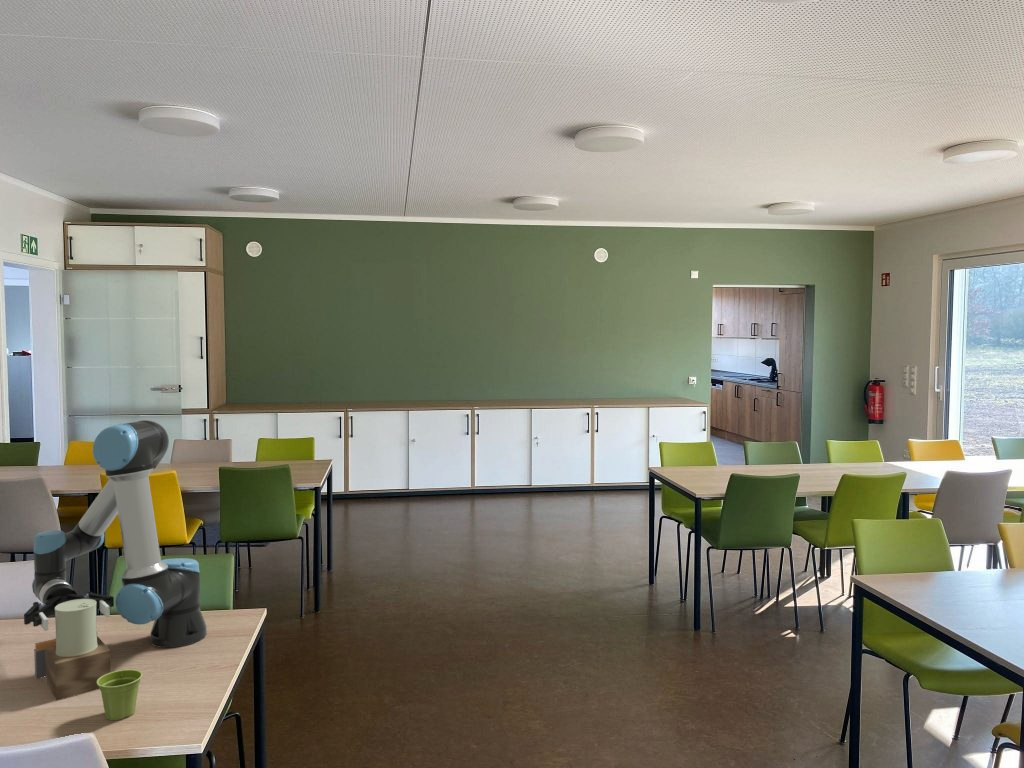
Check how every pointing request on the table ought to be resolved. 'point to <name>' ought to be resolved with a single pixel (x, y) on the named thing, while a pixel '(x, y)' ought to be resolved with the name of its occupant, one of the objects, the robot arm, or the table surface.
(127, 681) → the plant pot
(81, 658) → the walnut stand
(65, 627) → the can
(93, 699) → the table surface
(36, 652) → the hurdle posts
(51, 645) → the terracotta bar
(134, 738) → the table surface
